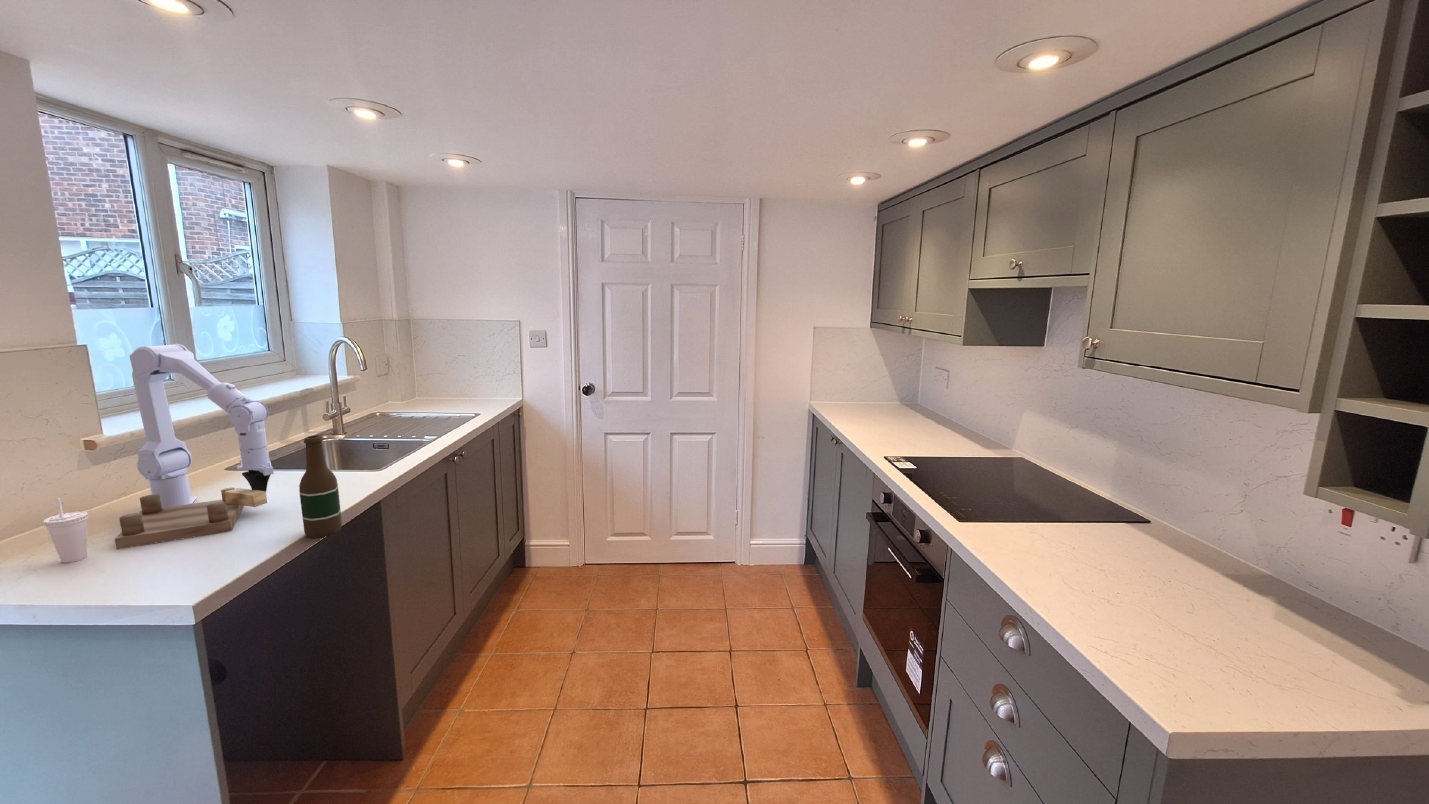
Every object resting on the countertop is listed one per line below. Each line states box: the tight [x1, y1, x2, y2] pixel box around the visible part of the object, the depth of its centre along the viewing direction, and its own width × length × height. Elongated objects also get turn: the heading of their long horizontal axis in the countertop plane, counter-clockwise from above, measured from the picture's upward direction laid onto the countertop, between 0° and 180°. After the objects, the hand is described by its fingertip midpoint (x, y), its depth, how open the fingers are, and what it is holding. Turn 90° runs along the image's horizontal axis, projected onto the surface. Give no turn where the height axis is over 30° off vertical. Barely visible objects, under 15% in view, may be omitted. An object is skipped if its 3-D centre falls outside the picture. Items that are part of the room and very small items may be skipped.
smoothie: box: [42, 497, 90, 564], centre depth 120 cm, size 6×6×14 cm
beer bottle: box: [298, 435, 343, 539], centre depth 135 cm, size 8×8×24 cm
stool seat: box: [114, 494, 245, 550], centre depth 139 cm, size 20×20×6 cm
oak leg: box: [220, 487, 268, 508], centre depth 148 cm, size 12×3×3 cm, turn 75°
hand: (260, 496), depth 151 cm, fingers closed, pressing on oak leg
